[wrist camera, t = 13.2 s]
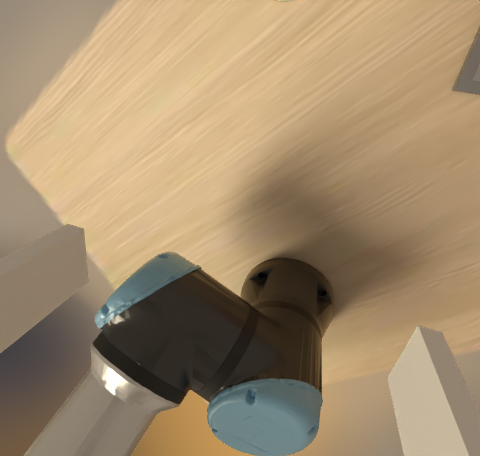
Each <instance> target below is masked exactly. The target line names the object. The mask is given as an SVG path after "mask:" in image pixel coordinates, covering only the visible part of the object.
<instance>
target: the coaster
mask: <svg viewBox="0 0 480 456" xmlns="http://www.w3.org/2000/svg"><path fill="white" fill-rule="evenodd" d="M452 91H458V92H464V93H470V94H476V95H480V28H479V30H478V32H477V34H476V37H475V39H474V41H473V44H472V46H471V48H470V50H469V53H468V55H467V57H466V59H465V62H464V64H463V66H462V69H461V71H460V73H459V75H458V78H457V80H456V82H455V85H454V87H453V89H452Z"/></svg>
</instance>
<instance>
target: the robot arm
mask: <svg viewBox="0 0 480 456" xmlns="http://www.w3.org/2000/svg"><path fill="white" fill-rule="evenodd" d="M87 283H88V270H87V260H86V248H85V236H84V229H83V228H80V227H77V226H73V225H70V224H67V225H65V226H63V227H61V228H59V229H57V230H55V231H53V232H51V233H49V234H47V235H45V236H43V237H42V238H40V239H38V240H36V241H34V242H32V243H30V244H28V245H26V246H24V247H22V248H21V249H18V250H17V251H15V252H13V253H11V254H9V255H7V256H5V257H3V258H1V259H0V353H1V352H2V351H4V350H5V349H6V348H7V347H9V346H10V345H11V344H12V343H13V342H15V341H16V340H17V339H18V338H20V337H21V336H22V335H23V334H25V333H26V332H27V331H28V330H30V329H31V328H32V327H33V326H35V325H36V324H37V323H38V322H39V321H41V320H42V319H43V318H45V317H46V316H47V315H48V314H49V313H51V312H52V311H53V310H54V309H56V308H57V307H58V306H59V305H61V304H62V303H63V302H64V301H65V300H67V299H68V298H69V297H71V296H72V295H73V294H74V293H76V292H77V291H78V290H79V289H80V288H82V287H83V286H84V285H85V284H87ZM333 312H334V298H333V292H332V289H331V287H330V285H329V283H328V281H327V280H326V278H325V277H324V276H323V275H322V274H321V273H320V272H319V271H318V270H316V269H315V268H313V267H312V266H310V265H308V264H306V263H304V262H301V261H298V260H293V259H284V258H282V259H273V260H269V261H266V262H263V263H261V264H259V265H258V266H256V267H255V268H254V269H253V270H252V271H251V272H250V273H249V274H248V276H247V278H246V280H245V282H244V285H243V287H242V291H241V298H240V297H239V296H238V295H236V294H235V293H233V292H232V291H231V290H229V289H228V288H226V287H225V286H224V285H222V284H221V283H219V282H218V281H217V280H215V279H214V278H212V277H211V276H210V275H208V274H207V273H206V272H204V271H203V270H201V267H200V266H199V265H194V264H193V263H191V262H190V261H188V260H186V259H185V258H183V257H182V256H180V255H178V254H177V253H174V252H165V253H162V254H159V255H157V256H155V257H154V258H152V259H151V260H149V261H148V262H147V263H145V264H144V265H143V266H142V267H140V268H139V269H138V270H137V271H136V272H135V273H133V274H132V275H131V276H130V277H129V278H128V279H127V280H126V281H125V282H124V283H123V284H122V285H121V286H120V287H119V288H118V289H117V290H116V291H115V292H114V293H113V294H112V295H111V296H110V297H109V299H108V300H107V301H106V303H105V305H104V306H103V307H102V308H101V309H100V310H99V311H98V312H97V315H96V316H95V322H96V324H97V327H98V328H99V329H103V330H102V332H101V333H100V334H99V335H98V337H97V338H96V339H95V341H94V342H93V343H92V345H91V355H92V365H91V369H90V370H89V371H88V373H87V374H86V375H85V377H84V378H83V379H82V380H81V382H80V383H79V384H78V386H77V387H76V388H75V390H74V391H73V392H72V393H71V395H70V396H69V397H68V399H67V400H66V401H65V403H64V404H63V405H62V406H61V408H60V409H59V410H58V412H57V413H56V414H55V416H54V417H53V418H52V419H51V421H50V422H49V423H48V425H47V426H46V427H45V429H44V430H43V431H42V432H41V434H40V435H39V436H38V437H37V439H36V440H35V441H34V443H33V444H32V445H31V447H30V448H29V449H28V450H27V452H26V453H25V454H24V456H131V454H132V453H133V451H134V450H135V448H136V446H137V445H138V443H139V442H140V440H141V439H142V437H143V435H144V434H145V432H146V431H147V429H148V428H149V426H150V424H151V423H152V421H153V420H154V418H155V416H156V415H157V414H158V413H160V412H161V411H165V410H169V409H172V408H176V407H178V406H179V405H180V404H181V402H182V400H183V399H184V397H185V396H186V394H187V392H188V391H189V390H190V389H191V390H192V391H194V392H195V393H197V394H198V395H200V396H201V397H203V398H204V399H205V400H207V401H208V402H209V406H208V408H207V412H208V415H207V419H208V424H209V427H210V428H212V432H213V433H214V435H215V436H216V437H217V438H218V439H220V440H221V441H222V442H223V443H225V444H226V445H228V446H230V447H232V448H234V449H236V450H239V451H241V452H244V453H248V454H252V455H257V456H286V455H290V454H294V453H296V452H299V451H301V450H303V449H304V448H306V447H307V446H308V445H309V444H310V443H311V442H312V441H313V440H314V438H315V437H316V435H317V432H318V429H319V418H320V409H321V406H322V402H323V400H322V337H323V335H324V333H325V331H326V330H327V328H328V326H329V324H330V322H331V320H332V316H333ZM388 382H389V387H390V392H391V397H392V401H393V406H394V411H395V415H396V420H397V425H398V429H399V434H400V439H401V443H402V448H403V452H404V456H480V411H479V409H478V407H477V405H476V403H475V400H474V399H473V396H472V394H471V392H470V390H469V388H468V386H467V384H466V382H465V380H464V378H463V375H462V373H461V371H460V369H459V367H458V365H457V363H456V361H455V359H454V357H453V355H452V352H451V350H450V348H449V346H448V344H447V342H446V340H445V338H444V336H443V334H442V332H439V331H436V330H432V329H429V328H425V327H422V326H417V328H416V330H415V332H414V333H413V335H412V337H411V339H410V340H409V342H408V344H407V345H406V347H405V349H404V351H403V352H402V354H401V356H400V357H399V359H398V361H397V363H396V364H395V366H394V368H393V369H392V371H391V373H390V375H389V376H388Z"/></svg>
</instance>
